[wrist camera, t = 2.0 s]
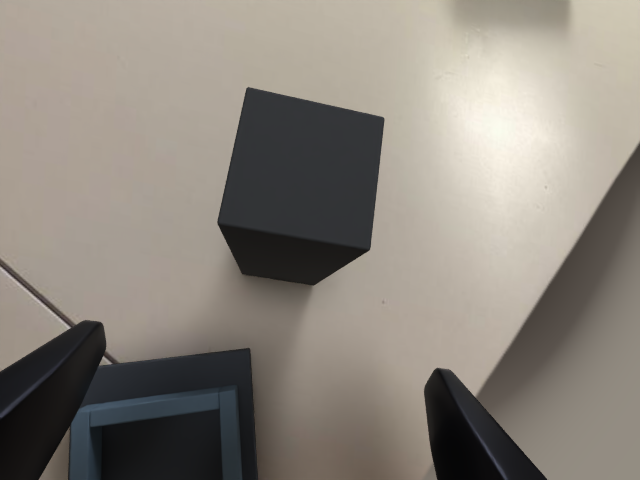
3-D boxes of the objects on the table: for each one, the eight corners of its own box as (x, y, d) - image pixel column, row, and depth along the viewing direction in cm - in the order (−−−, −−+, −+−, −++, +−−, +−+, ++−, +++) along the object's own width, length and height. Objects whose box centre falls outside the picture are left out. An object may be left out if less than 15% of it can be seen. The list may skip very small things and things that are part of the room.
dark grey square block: (314, 285, 22) (370, 250, 10) (241, 274, 21) (216, 223, 10) (324, 217, 23) (385, 116, 11) (255, 204, 22) (246, 85, 11)
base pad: (263, 565, 18) (263, 602, 16) (73, 607, 17) (42, 655, 14) (250, 347, 21) (248, 351, 18) (80, 367, 19) (54, 375, 17)
